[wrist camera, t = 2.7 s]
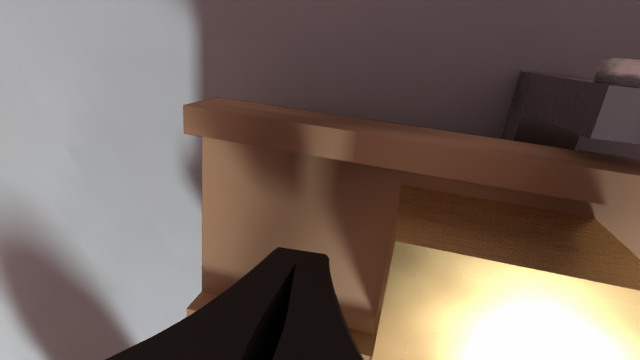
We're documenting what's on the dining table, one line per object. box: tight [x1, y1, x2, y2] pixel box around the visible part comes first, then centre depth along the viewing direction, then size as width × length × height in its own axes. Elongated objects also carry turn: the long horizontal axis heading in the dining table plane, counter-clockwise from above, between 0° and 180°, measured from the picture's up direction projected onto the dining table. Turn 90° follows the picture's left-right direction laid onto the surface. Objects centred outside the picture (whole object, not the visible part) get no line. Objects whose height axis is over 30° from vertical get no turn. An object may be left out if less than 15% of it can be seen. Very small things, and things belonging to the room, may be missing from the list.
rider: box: [369, 184, 640, 360], centre depth 9 cm, size 5×5×4 cm
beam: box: [183, 97, 640, 360], centre depth 11 cm, size 22×8×2 cm, turn 84°
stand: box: [502, 57, 640, 150], centre depth 12 cm, size 2×12×5 cm, turn 174°
